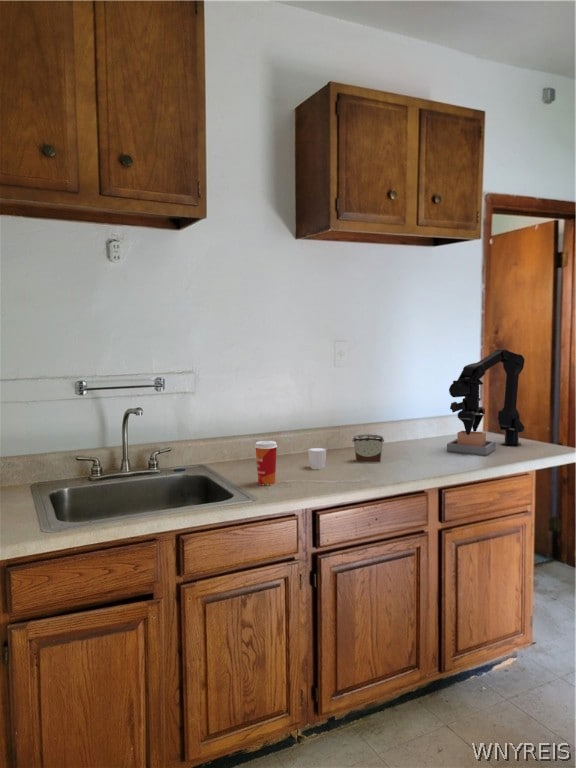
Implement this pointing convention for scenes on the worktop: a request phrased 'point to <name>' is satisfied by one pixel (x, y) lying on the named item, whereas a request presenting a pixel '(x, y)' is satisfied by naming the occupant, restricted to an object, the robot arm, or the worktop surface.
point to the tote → (472, 438)
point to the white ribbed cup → (317, 457)
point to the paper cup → (266, 461)
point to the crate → (471, 448)
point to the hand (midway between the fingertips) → (471, 433)
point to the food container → (368, 448)
